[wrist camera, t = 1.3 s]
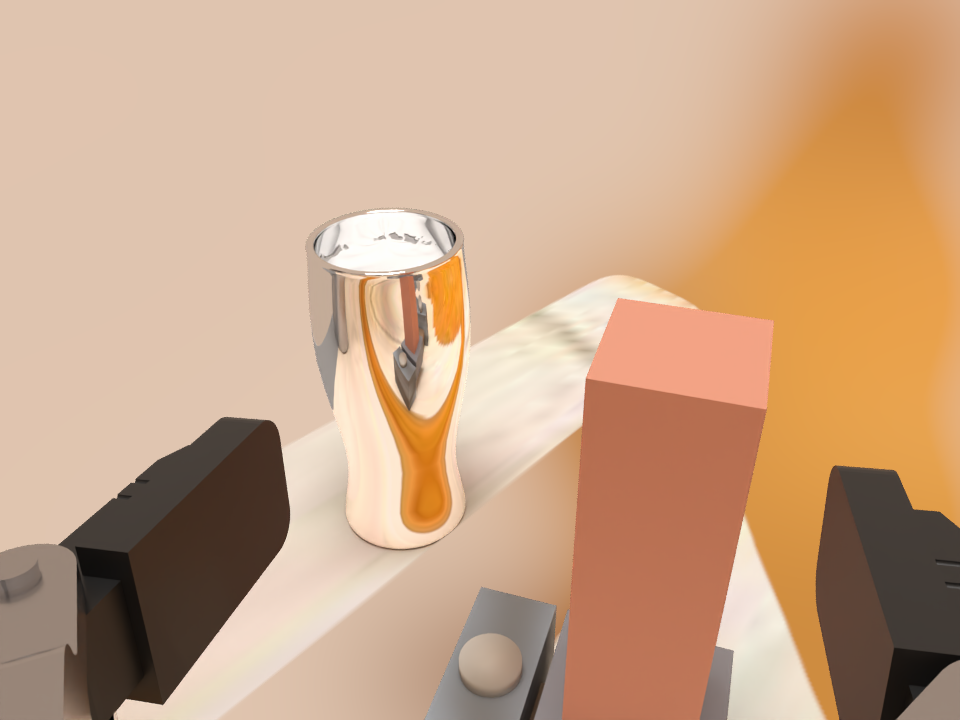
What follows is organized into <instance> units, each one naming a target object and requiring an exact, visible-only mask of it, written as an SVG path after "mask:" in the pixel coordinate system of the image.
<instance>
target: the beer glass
mask: <svg viewBox="0 0 960 720" xmlns="http://www.w3.org/2000/svg"><path fill="white" fill-rule="evenodd" d="M463 242H464V236H463V233H462V231H461V229H460V228H459V227H458V225H456V224H455V223H454V222H453V221H451V220H449V219H448V218H446V217H443V216H441V215H438V214H435V213H432V212H427V211H423V210H417V209H407V208H379V209H370V210H363V211H358V212H353V213H349V214H346V215H342V216H340V217H337V218H334V219H332V220H329V221H327V222H325V223H324V224H322V225H320V226H319V227H317V228H316V229H315V230H314V231H313V232H312V233H311V234H310V235H309V237H308V239H307V241H306V246H305V247H306V252H307V266H308V289H309V291H308V292H309V309H310V319H311V328H312V336H313V342H314V348H315V354H316V359H317V364H318V367H319V371H320V374H321V377H322V381H323V385H324V388H325V391H326V393H327V397H328V399H329V402H330V405H331V408H332V411H333V414H334V416H335V419H336V422H337V425H338V428H339V430H340V433H341V436H342V439H343V442H344V445H345V449H346V454H347V459H348V470H349V471H348V485H347V494H346V516H347V519H348V522H349V524H350V526H351V528H352V529H353V530H354V532H355V533H356V534H357V535H359V536H360V537H361V538H363V539H364V540H366V541H368V542H370V543H372V544H374V545H377V546H381V547H385V548H391V549H411V548H417V547H422V546H425V545H428V544H431V543H433V542H436V541H438V540H440V539H441V538H443V537H445V536H446V535H448V534H449V533H450V532H451V531H452V530H453V529H454V528H455V527H456V526H457V525H458V524H459V522H460V520H461V519H462V516H463V514H464V510H465V494H464V489H463V485H462V481H461V478H460V474H459V470H458V466H457V461H456V436H457V429H458V423H459V417H460V412H461V407H462V402H463V396H464V391H465V385H466V379H467V372H468V364H469V355H470V328H471V324H470V323H471V321H470V304H469V303H470V302H469V290H468V280H467V271H466V263H465V255H464V244H463Z"/></svg>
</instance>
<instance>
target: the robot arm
mask: <svg viewBox="0 0 960 720" xmlns="http://www.w3.org/2000/svg"><path fill="white" fill-rule="evenodd" d="M289 523H290V506H289V499H288V492H287V485H286V478H285V470H284V463H283V456H282V449H281V442H280V436H279V432H278V429H277V427H276V425H275V424H274V423H273V422H272V421H269V420H258V419H245V418H232V417H224V418H221V419H220V420H218V421H217V422H216V423H215V424H214V425H212V426H211V427H210V428H209V429H208V430H207V431H206V432H205V433H203V434H202V435H201V436H200V437H199V438H198V439H197V440H195V441H194V442H193V443H192V444H191V445H188V446H186V447H184V448H182V449H180V450H178V451H176V452H174V453H172V454H170V455H168V456H165V457H163V458H161V459H159V460H157V461H156V462H155V463H154V464H153V465H151V466H150V467H149V468H148V469H147V470H146V471H145V472H143V473H142V474H141V475H140V476H139V477H137V478H136V481H135V483H130V484H129V485H128V486H127V487H126V488H124V489H123V490H122V491H121V492H120V493H119V494H118V497H117V499H115V498H113V499H112V500H111V501H109V502H108V503H107V504H106V505H105V506H103V507H102V508H101V509H100V510H99V511H98V512H96V513H95V514H94V515H93V516H92V517H90V518H89V519H88V520H87V521H86V522H85V523H84V524H82V525H81V526H80V527H79V528H78V529H76V530H75V531H74V532H73V533H72V534H71V535H69V536H68V537H67V538H66V539H65V540H63V541H62V542H61V543H60V544H59V545H53V544H35V545H27V546H22V547H17V548H14V549H10V550H7V551H4V552H1V553H0V720H118V717H117V714H116V710H117V709H118V708H119V707H120V706H121V704H122V703H123V702H124V701H125V699H131V700H137V701H143V702H149V703H155V704H161V705H163V704H164V703H165V702H166V700H167V699H168V698H169V697H170V695H171V694H172V693H173V691H174V690H175V689H176V687H177V686H178V685H179V683H180V682H181V681H182V679H183V678H184V677H185V675H186V674H187V673H188V671H189V670H190V669H191V667H192V666H193V665H194V663H195V662H196V661H197V659H198V658H199V657H200V655H201V654H202V653H203V652H204V650H205V649H206V648H207V646H208V645H209V644H210V642H211V641H212V640H213V638H214V637H215V636H216V634H217V633H218V632H219V630H220V629H221V628H222V626H223V625H224V624H225V622H226V621H227V620H228V618H229V617H230V616H231V614H232V613H233V612H234V611H235V609H236V608H237V607H238V605H239V604H240V603H241V601H242V600H243V599H244V597H245V596H246V595H247V593H248V592H249V591H250V589H251V588H252V587H253V585H254V584H255V583H256V581H257V580H258V579H259V577H260V576H261V575H262V573H263V572H264V571H265V570H266V568H267V567H268V566H269V564H270V563H271V562H272V560H273V559H274V558H275V556H276V555H277V554H278V552H279V551H280V549H281V548H282V546H283V544H284V542H285V539H286V536H287V533H288V529H289ZM816 604H817V612H818V617H819V622H820V627H821V631H822V637H823V641H824V646H825V651H826V656H827V661H828V665H829V671H830V676H831V680H832V685H833V690H834V695H835V699H836V705H837V709H838V715H839V720H960V528H959V527H957V526H956V525H955V524H954V523H953V522H951V521H950V520H949V519H948V518H946V517H945V516H944V515H943V514H942V513H941V512H937V511H924V510H914V509H913V508H912V506H911V503H910V501H909V499H908V497H907V494H906V492H905V490H904V488H903V485H902V483H901V480H900V478H899V476H898V474H897V472H896V471H894V470H885V469H873V468H860V467H846V466H834V467H833V468H832V470H831V474H830V477H829V483H828V490H827V497H826V504H825V511H824V518H823V525H822V532H821V539H820V546H819V554H818V561H817V570H816Z"/></svg>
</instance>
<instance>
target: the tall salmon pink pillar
mask: <svg viewBox="0 0 960 720" xmlns="http://www.w3.org/2000/svg"><path fill="white" fill-rule="evenodd" d="M773 324H774V321H772V320H765V319H758V318H752V317H744V316H737V315H731V314H724V313H717V312H710V311H703V310H696V309H689V308H682V307H676V306H669V305H662V304H655V303H648V302H641V301H634V300H627V299H620V298H618V300H617V302H616V305H615V307H614V309H613V312H612V314H611V317H610V319H609V322H608V324H607V327H606V329H605V332H604V334H603V337H602V339H601V342H600V344H599V347H598V349H597V352H596V354H595V357H594V359H593V362H592V364H591V367H590V369H589V372H588V374H587V377H586V383H585V397H584V412H583V426H582V441H581V455H580V470H579V483H578V484H579V485H578V498H577V512H576V526H575V527H576V528H575V541H574V555H573V569H572V583H571V598H570V610H568V611H567V614H566V617H565V621H564V624H563V627H562V630H561V633H560V637H559V640H558V643H557V646H556V649H555V653H554V656H553V659H552V662H551V666H550V669H549V672H548V675H547V679H546V682H545V685H544V688H543V692H542V695H541V698H540V701H539V705H538V708H537V711H536V714H535V718H534V720H727V715H728V704H729V694H730V683H731V673H732V663H733V652H734V651H733V650H729V649H725V648H721V647H717V646H716V641H717V637H718V632H719V627H720V623H721V618H722V614H723V609H724V604H725V600H726V595H727V590H728V586H729V581H730V577H731V572H732V567H733V563H734V558H735V554H736V549H737V544H738V540H739V535H740V530H741V526H742V521H743V517H744V512H745V507H746V503H747V498H748V493H749V488H750V484H751V479H752V475H753V470H754V466H755V461H756V456H757V452H758V447H759V442H760V438H761V433H762V429H763V424H764V420H765V415H766V410H767V399H768V386H769V374H770V362H771V349H772V337H773Z"/></svg>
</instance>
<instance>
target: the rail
mask: <svg viewBox="0 0 960 720" xmlns="http://www.w3.org/2000/svg"><path fill="white" fill-rule="evenodd" d="M555 622H556V605H551V604H548V603H544V602H540V601H536V600H532V599H527V598H524V597H519V596H516V595H512V594H508V593H503V592H499V591H495V590H491V589H487V588H483V587H481V589H480V591H479V594H478V596H477V598H476V601H475V603H474V605H473V608H472V610H471V612H470V615H469V617H468V619H467V622H466V624H465V626H464V629H463V631H462V633H461V636H460V638H459V640H458V643H457V645H456V647H455V650H454V652H453V654H452V657H451V659H450V661H449V664H448V666H447V668H446V671H445V673H444V675H443V678H442V680H441V682H440V685H439V687H438V689H437V692H436V694H435V696H434V699H433V701H432V703H431V706H430V708H429V710H428V713H427V715H426V717H425V720H534V718H535V714H536V711H537V708H538V705H539V701H540V698H541V695H542V692H543V688H544V685H545V682H546V679H547V675H548V672H549V669H550V666H551V662H552V659H553V656H554V639H555Z"/></svg>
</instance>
